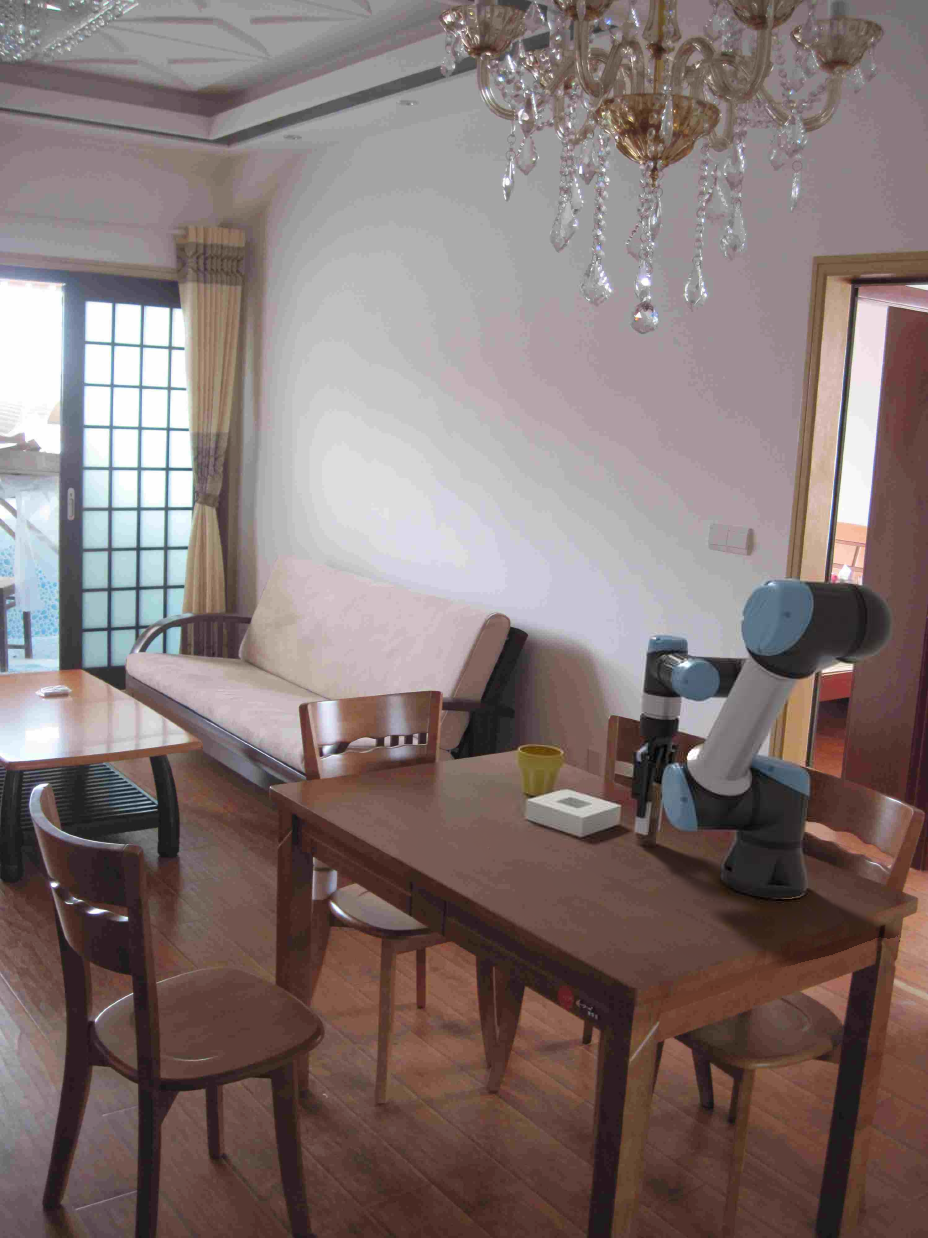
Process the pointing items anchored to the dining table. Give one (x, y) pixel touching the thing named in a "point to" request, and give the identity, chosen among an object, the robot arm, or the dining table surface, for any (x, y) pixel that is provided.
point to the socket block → (572, 812)
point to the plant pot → (539, 768)
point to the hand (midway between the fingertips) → (647, 830)
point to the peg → (652, 818)
